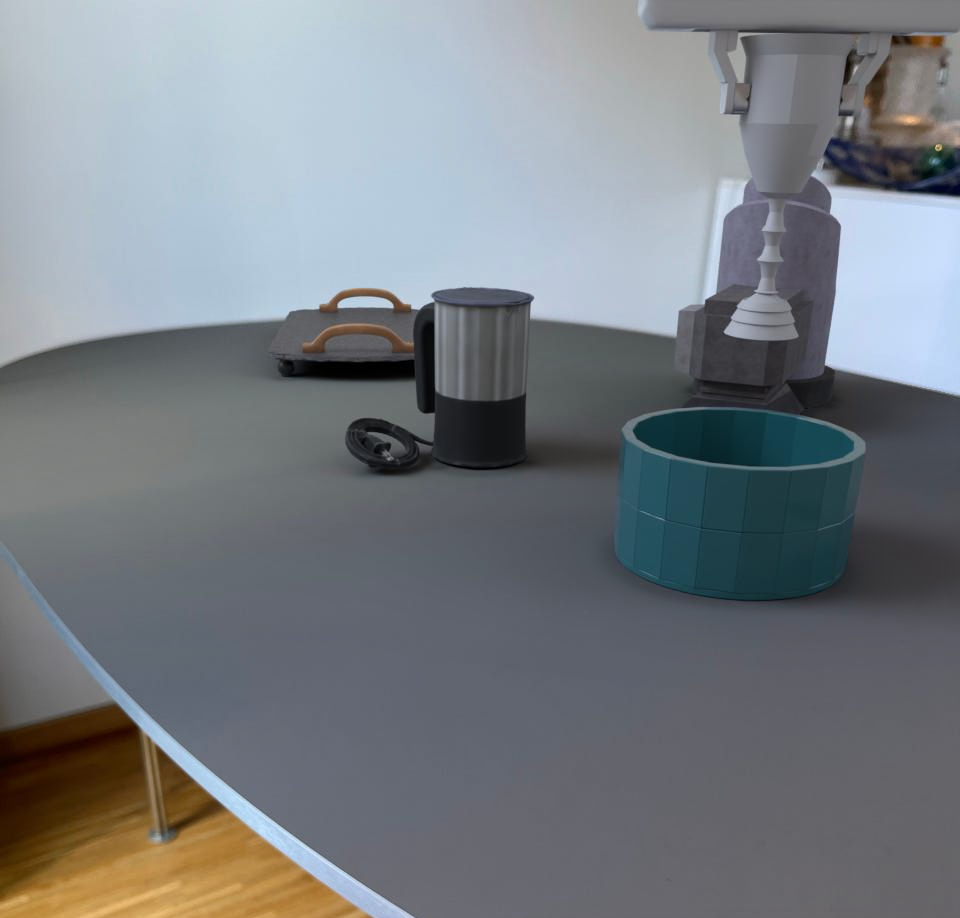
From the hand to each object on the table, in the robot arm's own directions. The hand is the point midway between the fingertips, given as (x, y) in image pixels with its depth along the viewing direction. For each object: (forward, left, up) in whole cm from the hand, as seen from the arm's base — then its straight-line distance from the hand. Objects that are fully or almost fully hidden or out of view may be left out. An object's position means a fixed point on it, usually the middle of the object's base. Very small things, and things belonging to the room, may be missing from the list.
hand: (789, 115), depth 68 cm
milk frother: (+23, -21, -29) cm, 43 cm away
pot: (+1, +3, -29) cm, 29 cm away
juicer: (-12, -45, -29) cm, 56 cm away
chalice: (0, 0, -14) cm, 14 cm away
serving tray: (+35, -74, -29) cm, 87 cm away
